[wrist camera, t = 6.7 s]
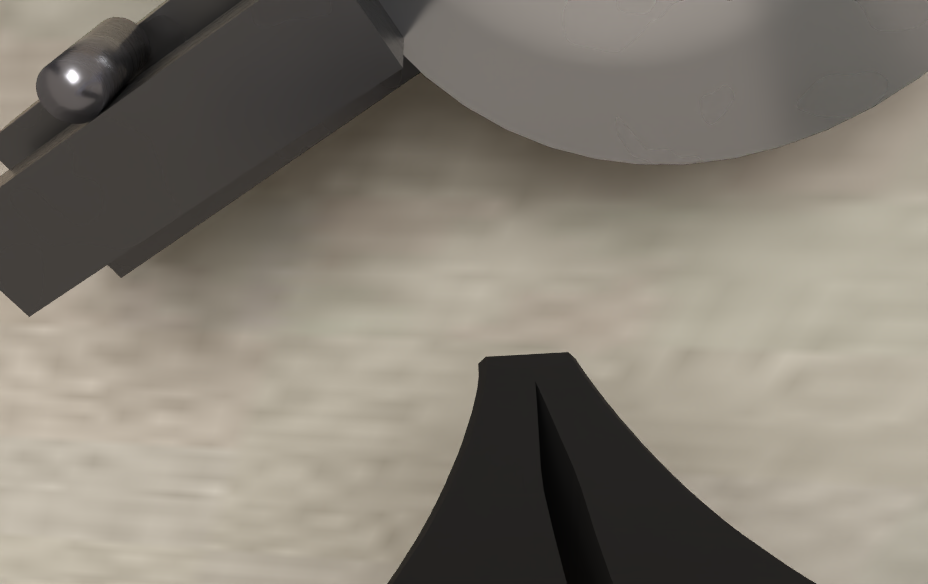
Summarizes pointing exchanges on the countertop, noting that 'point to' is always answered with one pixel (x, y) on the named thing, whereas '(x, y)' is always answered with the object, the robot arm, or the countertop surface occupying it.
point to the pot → (123, 59)
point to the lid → (464, 78)
